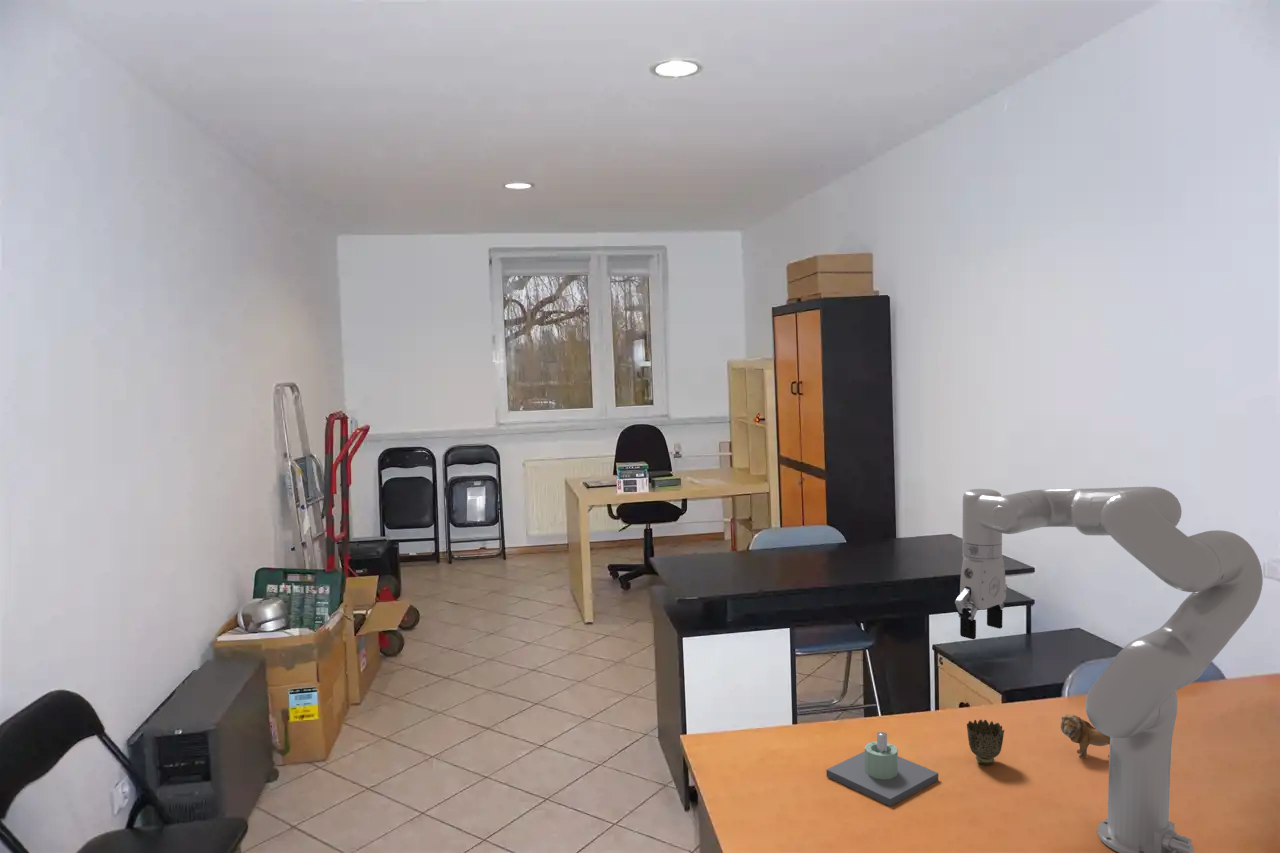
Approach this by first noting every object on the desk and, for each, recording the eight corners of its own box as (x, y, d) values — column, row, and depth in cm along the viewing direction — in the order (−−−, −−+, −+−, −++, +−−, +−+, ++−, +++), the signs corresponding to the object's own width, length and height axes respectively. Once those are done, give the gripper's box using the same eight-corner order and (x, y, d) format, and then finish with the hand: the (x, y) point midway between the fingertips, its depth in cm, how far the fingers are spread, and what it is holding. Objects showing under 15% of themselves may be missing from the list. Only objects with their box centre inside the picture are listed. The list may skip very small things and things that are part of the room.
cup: (1006, 771, 188) (1007, 735, 187) (969, 769, 189) (970, 732, 188) (1000, 755, 195) (1000, 719, 194) (964, 753, 196) (964, 718, 196)
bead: (903, 772, 186) (903, 749, 185) (884, 782, 182) (884, 758, 181) (878, 761, 191) (878, 738, 190) (858, 770, 187) (858, 747, 186)
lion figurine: (1060, 758, 193) (1061, 718, 192) (1059, 748, 198) (1060, 708, 197) (1138, 769, 187) (1139, 727, 186) (1134, 758, 192) (1136, 717, 191)
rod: (889, 771, 186) (888, 734, 185) (882, 774, 185) (882, 737, 184) (881, 767, 188) (880, 731, 187) (875, 771, 187) (874, 733, 186)
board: (938, 779, 185) (938, 773, 185) (890, 806, 175) (890, 799, 175) (874, 753, 198) (874, 746, 198) (826, 776, 188) (826, 769, 188)
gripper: (974, 561, 175) (974, 646, 176) (1022, 546, 185) (1021, 627, 187) (941, 554, 180) (940, 637, 182) (988, 540, 191) (987, 619, 193)
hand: (981, 632), depth 184 cm, fingers open, 9 cm apart
